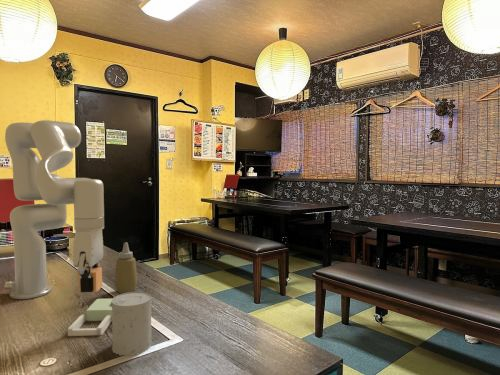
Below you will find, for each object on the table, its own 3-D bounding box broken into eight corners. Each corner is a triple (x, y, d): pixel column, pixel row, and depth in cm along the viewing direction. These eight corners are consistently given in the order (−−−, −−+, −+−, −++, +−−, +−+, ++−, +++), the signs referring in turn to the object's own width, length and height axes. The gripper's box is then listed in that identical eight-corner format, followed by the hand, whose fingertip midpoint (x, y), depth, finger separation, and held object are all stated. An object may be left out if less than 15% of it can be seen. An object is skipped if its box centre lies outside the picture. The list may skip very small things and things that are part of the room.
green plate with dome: (67, 336, 93) (67, 322, 93) (92, 308, 111) (92, 297, 110) (126, 334, 94) (126, 320, 94) (141, 307, 112) (141, 296, 112)
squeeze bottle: (130, 296, 121) (129, 245, 120) (109, 294, 123) (109, 244, 122) (142, 288, 129) (141, 241, 128) (122, 286, 131) (121, 239, 130)
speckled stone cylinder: (118, 337, 93) (117, 292, 92) (154, 336, 93) (154, 291, 93) (106, 356, 83) (106, 306, 82) (147, 355, 84) (147, 305, 83)
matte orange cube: (79, 292, 94) (78, 272, 94) (85, 286, 99) (85, 267, 99) (96, 292, 95) (95, 272, 94) (102, 286, 99) (101, 267, 99)
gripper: (87, 219, 104) (88, 279, 105) (61, 229, 87) (62, 300, 88) (113, 219, 105) (114, 278, 106) (92, 228, 88) (93, 299, 89)
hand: (90, 287), depth 97 cm, fingers closed on matte orange cube, 4 cm apart
